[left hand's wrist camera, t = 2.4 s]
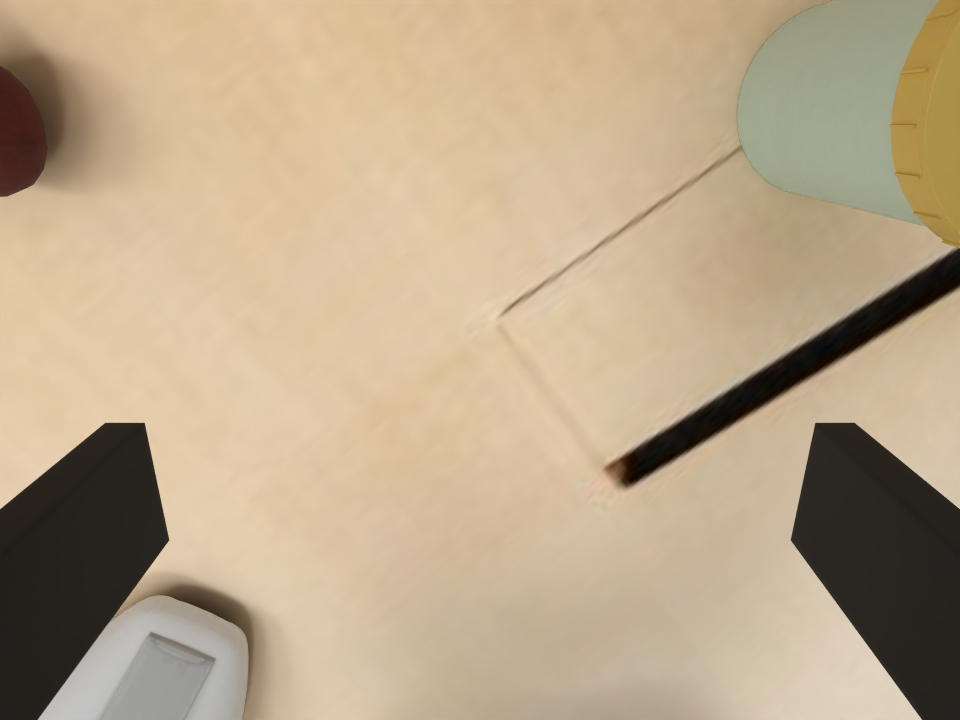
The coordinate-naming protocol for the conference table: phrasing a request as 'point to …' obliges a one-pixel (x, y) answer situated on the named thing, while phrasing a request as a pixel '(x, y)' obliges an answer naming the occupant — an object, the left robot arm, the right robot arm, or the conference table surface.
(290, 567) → the conference table surface
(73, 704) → the projector
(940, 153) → the lid
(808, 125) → the jar
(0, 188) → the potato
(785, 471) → the conference table surface
